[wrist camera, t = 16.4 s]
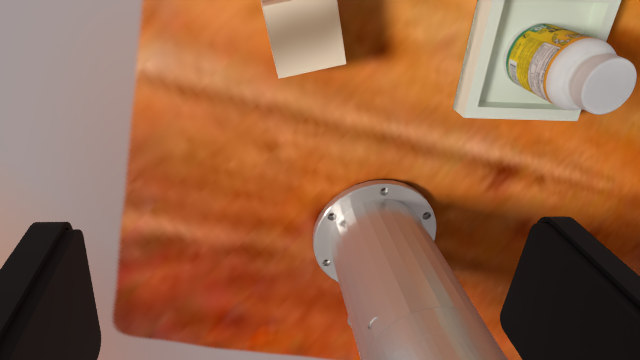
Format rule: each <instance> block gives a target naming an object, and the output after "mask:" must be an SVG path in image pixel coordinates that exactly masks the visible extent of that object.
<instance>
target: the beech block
mask: <svg viewBox="0 0 640 360" xmlns="http://www.w3.org/2000/svg"><path fill="white" fill-rule="evenodd" d="M261 5H262V9H263V14H264V18H265V23H266V27H267V32H268V36H269V41H270V45H271V49H272V54H273V58H274V63H275V66H276V70H277V74H278V77H279V78H284V77H288V76H293V75H298V74H302V73H307V72H311V71H316V70H321V69H325V68H330V67H334V66H339V65H344V64H346V58H345V52H344V45H343V38H342V31H341V24H340V17H339V10H338V3H337V0H261Z"/></svg>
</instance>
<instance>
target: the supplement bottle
mask: <svg viewBox="0 0 640 360" xmlns="http://www.w3.org/2000/svg"><path fill="white" fill-rule="evenodd" d="M503 66H504V70H505V73H506V75H507V77H508V78H509V79H510V80H511V81H512V82H513V83H515V84H517V85H518V86H520V87H522V88H524V89H526V90H528V91H529V92H531V93H533V94H535V95H537V96H539V97H540V98H542V99H544V100H546V101H548V102H550V103H551V104H553V105H555V106H557V107H559V108H561V109H564V110H572V111H573V110H581V109H583V110H585V111H588V112H590V113H592V114H598V115H600V114H606V113H609V112H611V111H614V110H615V109H617V108H618V107H620V106H621V105H622V104H623V103H624V102H625V101H626V100H627V99H628V98H629V96H630V95H631V93H632V91H633V89H634V87H635V84H636V79H637V75H636V69H635V67H634V65H633V64H632V63H631V62H630V61H629V60H627V59H625V58H622V57H620V56H617V54H616V52H615V50H614V49H613V48H612V47H611V46H610V45H609V44H608V43H607V42H605V41H603V40H601V39H597V38H594V37H590V36H587V35H584V34H580V33H577V32H574V31H571V30H567V29H564V28H561V27H557V26H554V25H550V24H546V23H537V24H533V25H530V26H528V27H525V28H523V29H522V30H520V31H519V32H518V33H517V34H515V35H514V36H513V38H512V39H511V40H510V42H509V44H508V46H507V48H506V50H505V53H504V58H503Z"/></svg>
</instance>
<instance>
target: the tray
mask: <svg viewBox="0 0 640 360" xmlns="http://www.w3.org/2000/svg"><path fill="white" fill-rule="evenodd" d="M620 3H621V0H477V5H476V9H475V13H474V18H473V22H472V26H471V31H470V35H469V39H468V44H467V48H466V52H465V57H464V61H463V66H462V70H461V74H460V79H459V83H458V87H457V92H456V96H455V100H454V105H453V109H454V110H455V111H457V112H458V113H459V114H460V115H461V116H462V117H464V118H490V119H524V120H557V121H577V120H578V118H579V115H580V112H581V110H573V111H572V110H564V109H561V108H559V107H557V106H555V105H553V104H551V103H550V102H548V101H546V100H544V99H542V98H540V97H539V96H537V95H535V94H533V93H531V92H529V91H528V90H526V89H524V88H522V87H520V86H518V85H517V84H515V83H513V82H512V81H511V80H510V79H509V78H508V77H507V75H506V73H505V70H504V66H503V58H504V53H505V50H506V48H507V46H508V44H509V42H510V40H511V39H512V38H513V36H514V35H515V34H517V33H518V32H519V31H520V30H522V29H523V28H525V27H528V26H530V25H533V24H537V23H546V24H550V25H554V26H557V27H561V28H564V29H567V30H571V31H574V32H577V33H580V34H584V35H587V36H590V37H594V38H597V39H601V40H603V41H605V42H606V41H607V38H608V36H609V33H610V30H611V27H612V25H613V22H614V19H615V16H616V14H617V11H618V8H619V5H620Z"/></svg>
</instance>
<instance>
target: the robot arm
mask: <svg viewBox="0 0 640 360" xmlns="http://www.w3.org/2000/svg"><path fill="white" fill-rule="evenodd" d="M382 188H383V189H382ZM330 213H331V214H330ZM436 230H437V226H436V218H435V215H434V212H433V209H432V208H431V206H430V204H429V203H428V201H427V200H426V199H425V198H424V196H423V195H422V194H421V193H420V192H418V191H417V190H416V189H414V188H413V187H411V186H409V185H407V184H405V183H401V182H397V181H393V180H374V181H367V182H364V183H360V184H357V185H354V186H352V187H350V188H348V189H346V190H344V191H343V192H341V193H340V194H339V195H337V196H336V197H334V198H333V199H332V200H331V201H330V202H329V203H328V204H327V205H326V206H325V208H324V209H323V211H322V212H321V213H320V215H319V217H318V219H317V221H316V224H315V226H314V231H313V248H314V253H315V257H316V259H317V262H318V264H319V265H320V267H321V268H322V270H323V271H324V272H325V273H326V274H327V275H328V276H329V277H330V278H332V279H334V280H335V281H337V282H339V284H340V287H341V291H342V295H343V298H344V302H345V305H346V309H347V312H348V320H347V321H348V324H349V325H350V326H351V327H352V330H353V333H354V337H355V340H356V344H357V347H358V351H359V354H360V358H361V360H508V359H507V357H506V356H505V354H504V353H503V351H502V350H501V348H500V346H499V345H498V343H497V342H496V340H495V339H494V337H493V335H492V334H491V332H490V331H489V329H488V327H487V326H486V324H485V323H484V321H483V319H482V318H481V316H480V314H479V313H478V311H477V310H476V308H475V306H474V305H473V303H472V302H471V300H470V298H469V297H468V295H467V294H466V292H465V290H464V289H463V287H462V286H461V284H460V282H459V281H458V279H457V278H456V276H455V274H454V273H453V271H452V270H451V268H450V266H449V265H448V263H447V261H446V260H445V258H444V257H443V255H442V253H441V252H440V250H439V249H438V247H437V245H436V244H435V242H434V240H435V237H436ZM500 322H501V326H502V328H503V330H504V332H505V333H506V335H507V336H508V338H509V340H510V341H511V343H512V344H513V346H514V347H515V349H516V350H517V352H518V353H519V355H520V356H521V358H522V359H523V360H640V276H638V275H637V274H636V273H635V272H634V271H633V270H632V269H630V268H629V267H628V266H627V265H626V264H625V263H624V262H622V261H621V260H620V259H619V258H618V257H617V256H615V255H614V254H613V253H612V252H611V251H610V250H609V249H607V248H606V247H605V246H604V245H603V244H602V243H601V242H599V241H598V240H597V239H596V238H595V237H594V236H593V235H591V234H590V233H589V232H588V231H587V230H586V229H585V228H583V227H582V226H581V225H580V224H579V223H578V222H576V221H575V220H574V219H573V218H571V217H543V218H541V219H540V220H539V221H538V222H537V224H534V225H533V226H532V227H531V229H530V232H529V235H528V238H527V240H526V243H525V246H524V249H523V252H522V255H521V257H520V260H519V263H518V266H517V269H516V271H515V274H514V277H513V280H512V283H511V285H510V288H509V291H508V294H507V297H506V299H505V302H504V305H503V308H502V311H501V314H500ZM100 346H101V331H100V326H99V321H98V315H97V309H96V304H95V298H94V293H93V287H92V281H91V276H90V271H89V265H88V259H87V254H86V248H85V243H84V237H83V233H82V231H81V230H73V229H72V226H71V224H70V223H69V222H35V223H33V224H32V225H31V226H30V227H29V229H28V230H27V232H26V233H25V235H24V236H23V237H22V239H21V240H20V242H19V243H18V245H17V246H16V248H15V249H14V251H13V252H12V254H11V255H10V256H9V258H8V259H7V261H6V262H5V264H4V265H3V267H2V268H1V269H0V360H97V358H98V355H99V351H100Z"/></svg>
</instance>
